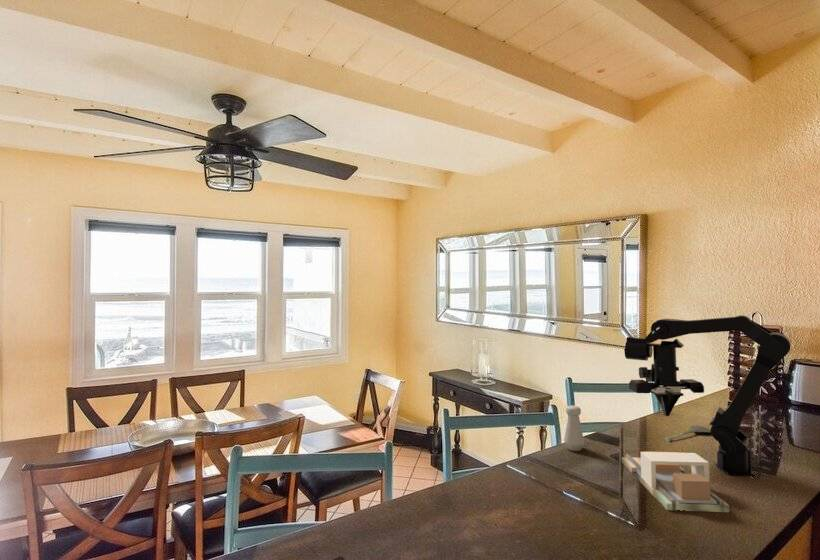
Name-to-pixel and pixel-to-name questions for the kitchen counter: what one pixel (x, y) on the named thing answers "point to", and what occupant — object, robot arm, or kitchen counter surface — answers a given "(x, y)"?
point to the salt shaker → (573, 429)
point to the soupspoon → (693, 429)
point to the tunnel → (671, 458)
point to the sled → (684, 485)
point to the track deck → (665, 497)
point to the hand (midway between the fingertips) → (666, 415)
